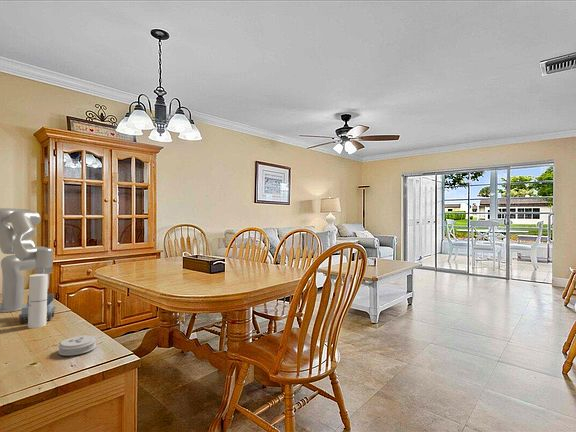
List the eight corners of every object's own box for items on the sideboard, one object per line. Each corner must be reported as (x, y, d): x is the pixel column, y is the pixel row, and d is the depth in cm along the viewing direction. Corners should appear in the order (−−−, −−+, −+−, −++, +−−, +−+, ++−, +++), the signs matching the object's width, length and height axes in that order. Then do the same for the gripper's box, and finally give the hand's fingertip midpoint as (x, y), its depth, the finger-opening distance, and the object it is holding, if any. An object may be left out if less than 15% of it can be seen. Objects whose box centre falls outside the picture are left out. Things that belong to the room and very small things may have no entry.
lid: (99, 343, 135) (99, 331, 135) (91, 355, 123) (92, 342, 123) (64, 347, 130) (64, 335, 131) (53, 359, 119) (53, 346, 119)
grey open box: (25, 317, 168) (26, 295, 168) (55, 314, 174) (55, 293, 174) (18, 324, 157) (19, 300, 157) (50, 320, 163) (51, 297, 163)
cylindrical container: (38, 328, 152) (40, 276, 153) (23, 327, 152) (25, 276, 153) (49, 323, 159) (51, 273, 160) (36, 323, 160) (37, 273, 160)
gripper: (37, 268, 178) (36, 301, 178) (32, 273, 165) (30, 308, 165) (54, 268, 182) (52, 299, 182) (49, 272, 169) (47, 306, 169)
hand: (41, 303), depth 173 cm, fingers closed
